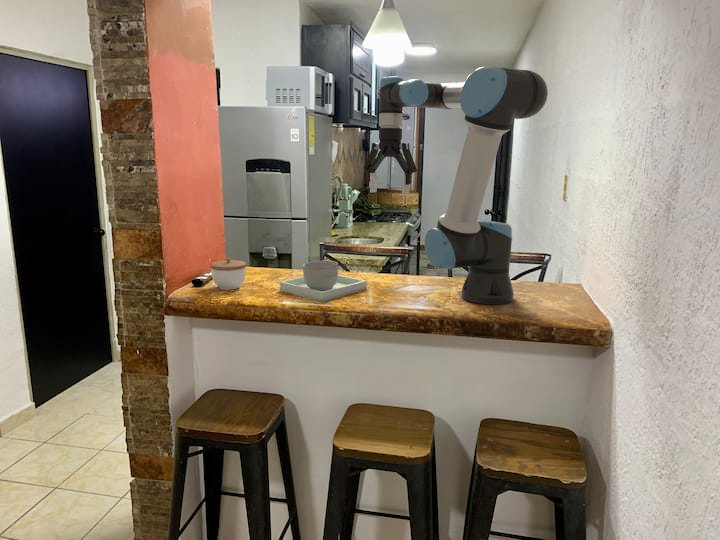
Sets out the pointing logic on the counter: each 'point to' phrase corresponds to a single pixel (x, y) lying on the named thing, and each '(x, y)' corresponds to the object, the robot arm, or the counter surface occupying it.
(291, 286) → the tray
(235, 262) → the lidded jar
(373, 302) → the counter surface
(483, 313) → the counter surface
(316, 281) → the teacup
